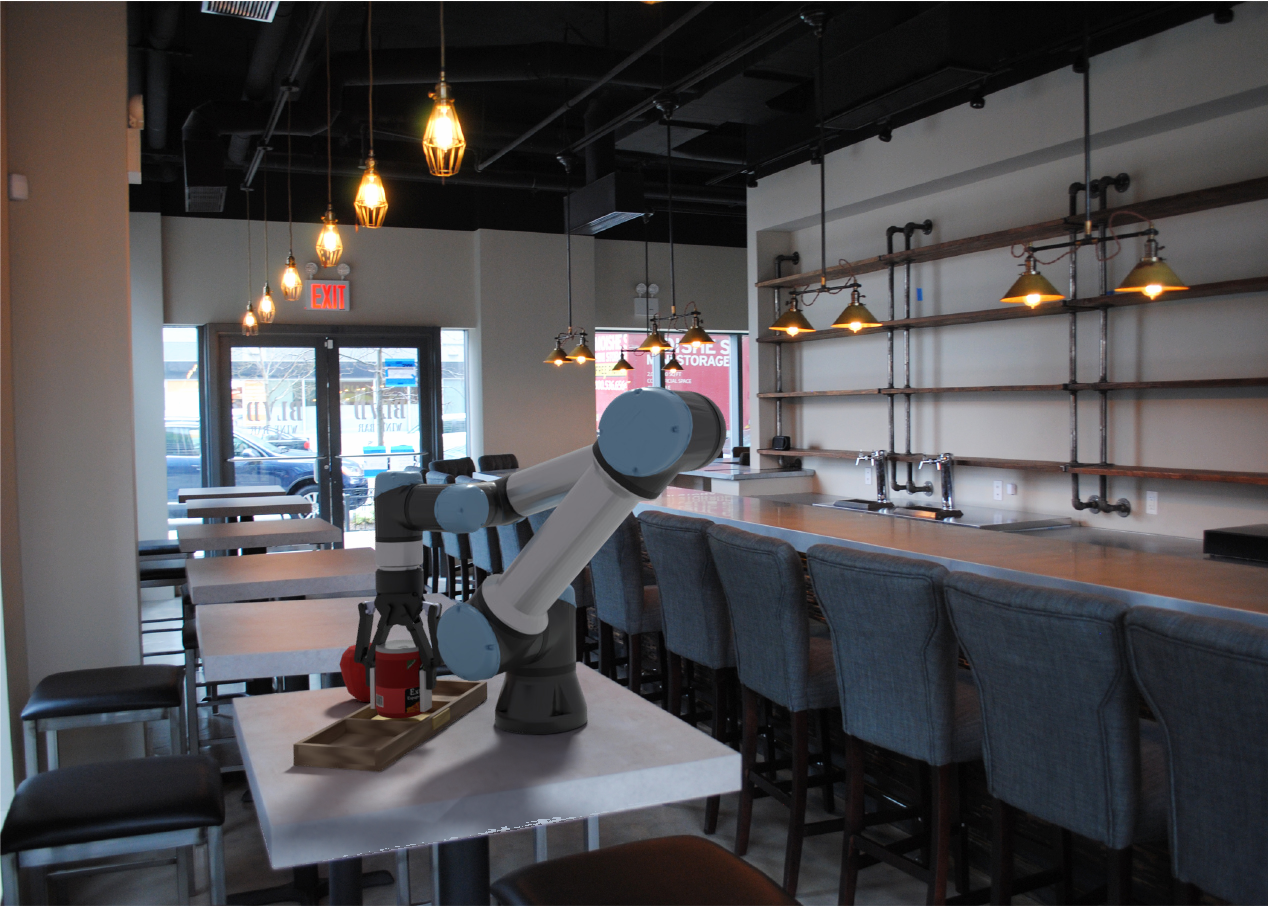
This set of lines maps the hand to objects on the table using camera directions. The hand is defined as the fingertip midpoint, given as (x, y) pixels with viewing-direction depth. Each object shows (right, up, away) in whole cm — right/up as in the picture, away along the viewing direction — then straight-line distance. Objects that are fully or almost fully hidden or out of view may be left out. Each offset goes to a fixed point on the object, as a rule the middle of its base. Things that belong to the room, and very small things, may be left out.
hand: (401, 707), depth 154 cm
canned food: (0, -1, 0) cm, 1 cm away
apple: (-10, -3, +18) cm, 21 cm away
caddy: (0, -3, 0) cm, 3 cm away
